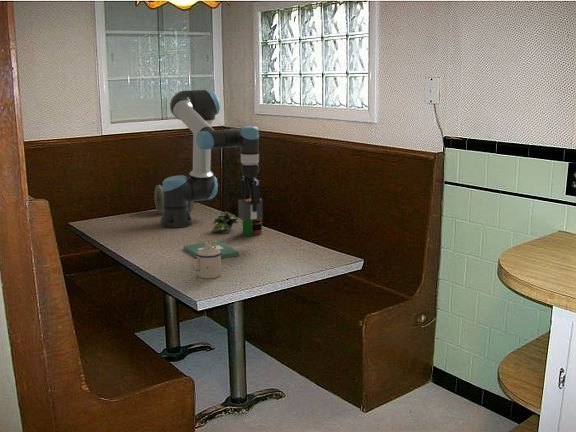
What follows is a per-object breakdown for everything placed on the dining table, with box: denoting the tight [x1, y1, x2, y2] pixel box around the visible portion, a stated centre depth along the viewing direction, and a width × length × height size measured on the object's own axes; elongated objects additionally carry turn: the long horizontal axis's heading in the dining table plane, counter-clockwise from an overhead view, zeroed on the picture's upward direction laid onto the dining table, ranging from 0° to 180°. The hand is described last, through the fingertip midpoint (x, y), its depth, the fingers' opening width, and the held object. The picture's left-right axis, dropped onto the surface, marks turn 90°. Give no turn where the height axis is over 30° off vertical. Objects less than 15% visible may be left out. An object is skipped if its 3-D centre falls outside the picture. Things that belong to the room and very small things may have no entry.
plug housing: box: [237, 198, 263, 222], centre depth 273 cm, size 5×9×8 cm, turn 121°
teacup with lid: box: [190, 245, 222, 280], centre depth 236 cm, size 12×9×12 cm
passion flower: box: [212, 211, 239, 235], centre depth 299 cm, size 11×11×12 cm
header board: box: [183, 240, 240, 259], centre depth 267 cm, size 20×16×4 cm
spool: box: [153, 184, 195, 215], centre depth 338 cm, size 16×15×15 cm
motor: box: [242, 197, 263, 237], centre depth 294 cm, size 10×9×20 cm
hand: (250, 217), depth 274 cm, fingers closed on plug housing, 5 cm apart
